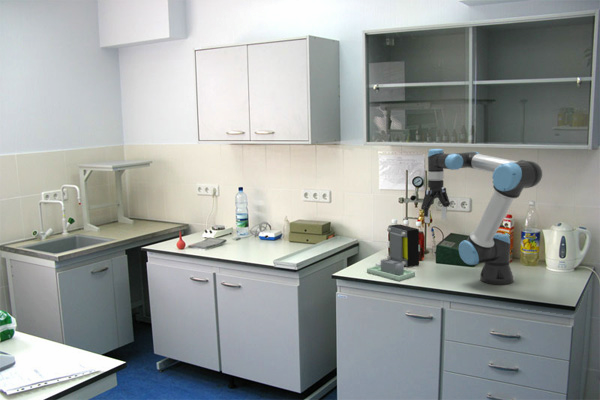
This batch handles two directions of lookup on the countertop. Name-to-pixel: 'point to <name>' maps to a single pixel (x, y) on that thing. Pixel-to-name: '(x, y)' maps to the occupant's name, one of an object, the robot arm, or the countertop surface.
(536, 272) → the countertop surface
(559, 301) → the countertop surface
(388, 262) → the connector
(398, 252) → the electrical component
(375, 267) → the tray
